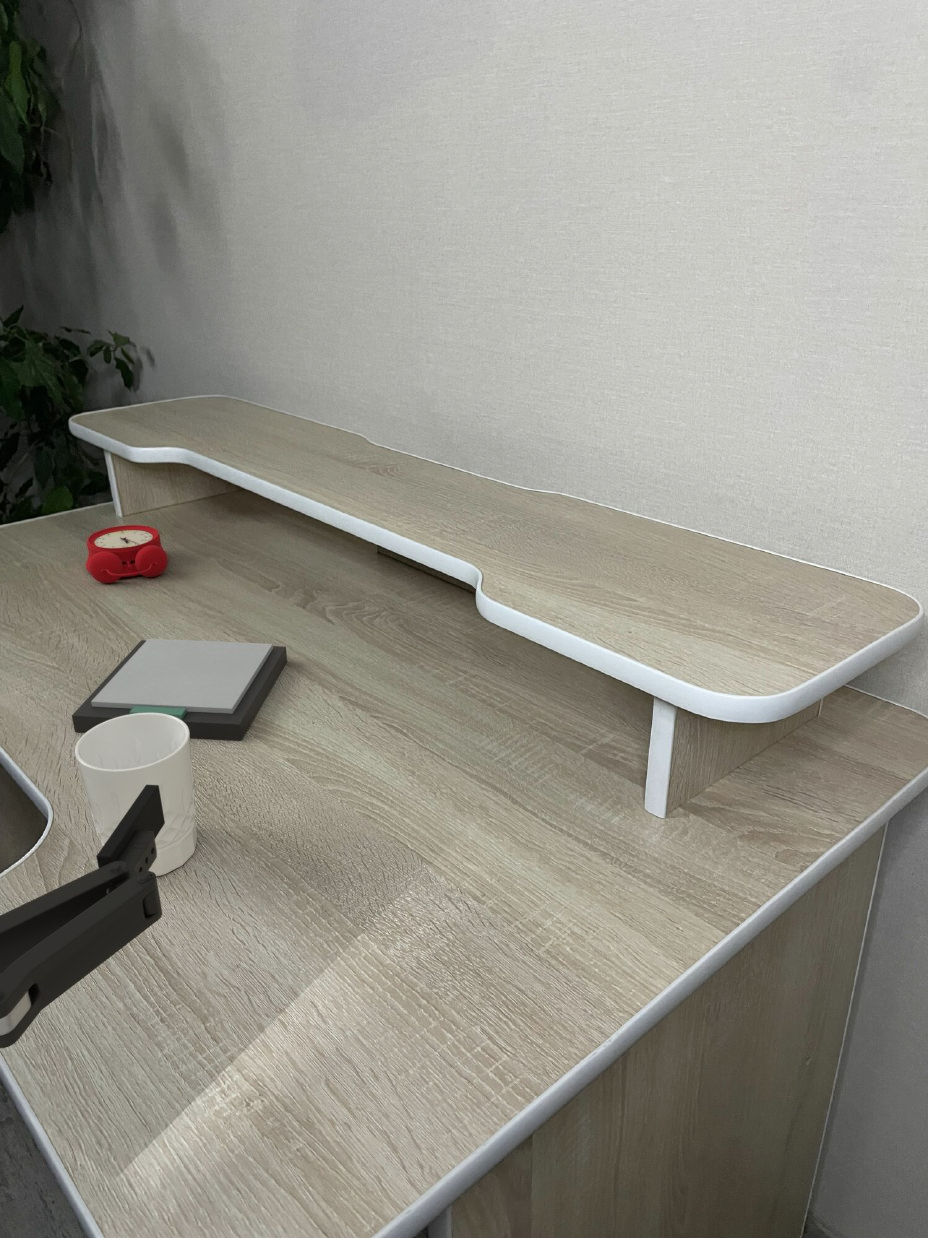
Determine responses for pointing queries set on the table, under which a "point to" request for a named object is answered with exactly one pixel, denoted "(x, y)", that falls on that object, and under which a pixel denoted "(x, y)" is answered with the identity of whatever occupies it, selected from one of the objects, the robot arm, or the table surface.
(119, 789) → the white cup
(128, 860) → the robot arm
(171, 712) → the scale
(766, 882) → the table surface
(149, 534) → the alarm clock
